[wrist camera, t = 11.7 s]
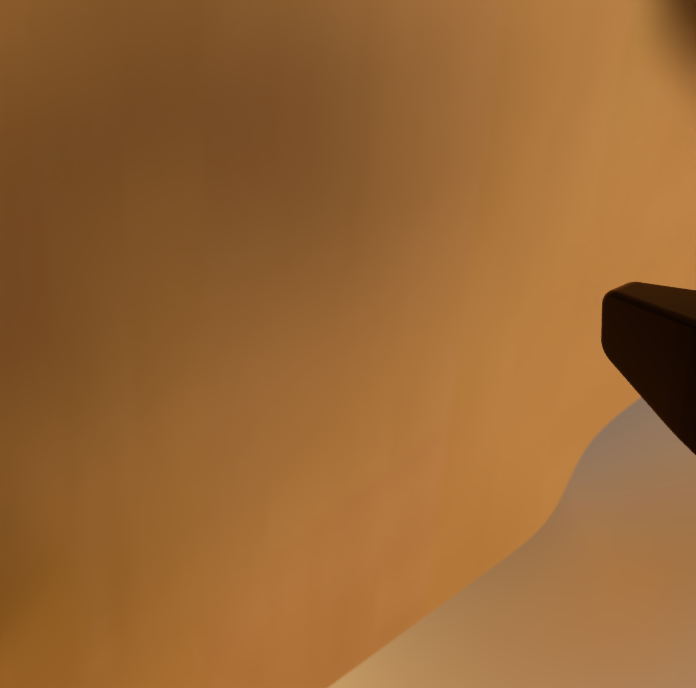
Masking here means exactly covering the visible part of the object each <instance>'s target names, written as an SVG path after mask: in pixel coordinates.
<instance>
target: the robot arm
mask: <svg viewBox="0 0 696 688" xmlns="http://www.w3.org/2000/svg"><path fill="white" fill-rule="evenodd" d="M601 343H602V347H603V350H604V352H605V354H606V356H607V357H608V359H609V360H610V361H611V362H612V363H613V364H614V366H615V367H616V368H617V369H618V370H619V371H620V373H621V374H622V375H623V376H624V377H625V378H626V379H627V381H628V382H629V383H630V384H631V385H632V386H633V388H634V389H635V390H636V391H637V392H638V393H639V394H640V396H641V397H642V398H643V399H644V400H645V401H646V402H647V404H648V405H649V406H650V407H651V408H652V409H653V411H655V413H656V414H657V415H658V416H659V417H660V419H661V420H662V421H663V422H664V423H665V424H666V425H667V427H668V428H669V429H670V430H671V431H672V432H673V433H674V434H675V435H676V436H677V437H678V438H679V439H680V440H681V441H682V442H683V443H684V444H685V445H686V446H687V447H688V448H689V449H690V450H691V451H692V452H693V453H694V454H695V455H696V290H689V289H682V288H675V287H668V286H661V285H655V284H648V283H641V282H630V283H627V284H625V285H622V286H620V287H618V288H615V289H613V290H611V291H609V292H608V293H606V294H605V296H604V298H603V301H602V328H601Z"/></svg>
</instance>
